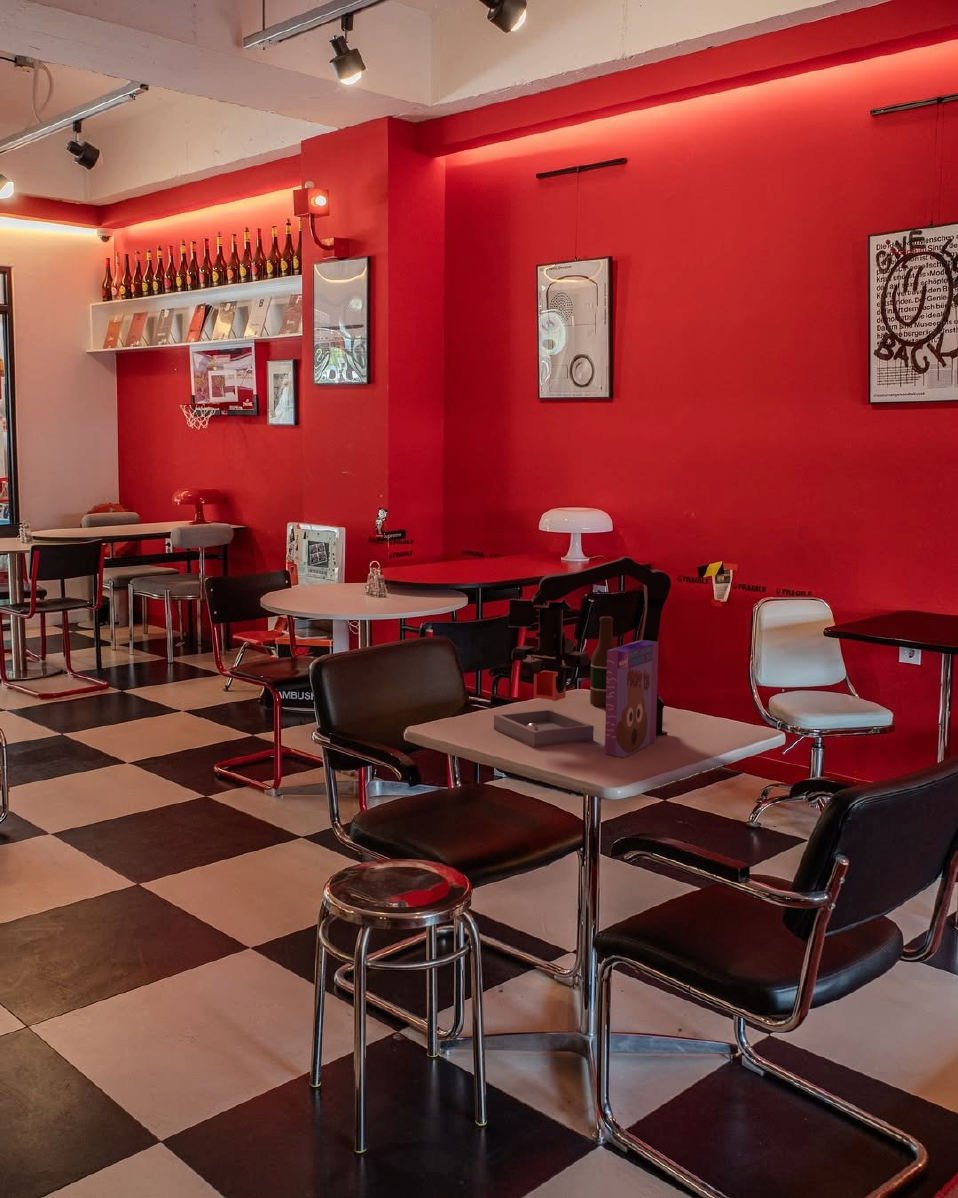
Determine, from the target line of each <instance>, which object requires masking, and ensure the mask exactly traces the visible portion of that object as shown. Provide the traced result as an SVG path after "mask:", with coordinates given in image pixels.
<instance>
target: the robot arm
mask: <svg viewBox="0 0 958 1198" xmlns="http://www.w3.org/2000/svg"><path fill="white" fill-rule="evenodd" d="M623 575H624V576H625V575H627V576H628V577H630V578H632V579H634V580H636V581H637V582H639V583H641V584H642V585H643V597H644V615H643V621H642V629H641V637H640V640H650V641H655V642H659V634H660V625H661V621H662V619H661V618H662V611H663V608H664V606H665V604H666V602H667V600H668V596H669V593H670V591H671V589H672V588H671V587H672V581H671V578H670V576H669V575H668V574H667V573H666V572H664V571H662V570H660V569H650V568H648V567H646V566H644V565H643V564H641V563H638V562H636V561H635V560H633V559H632V558H631V557H629V556H622V557H620V558H618V559H614V560H611V561H608V562H605V563H601V564H598V565H594V566H592V567H589V568H588V567H587V568H584V569H581V570H578V571H574V572H561V573H560V572H559V573H553V574H547V575H545V576H543V577H542V578H541V579H540V581H539V584H538V587H539V588H538V590H537V591H536V592H535V593H534V595H533V594H532V598H531V599H517V598H510V599H509V602H508V603H509V605H508V607H509V608H508V615H507V616H508V619H507V620H508V622H507V625H508V626H507V627H508V628H532V625H535V624H536V623H537V610H538V631H536V632H535V637H537V638H538V648H536V646H530V645H529V646H528V645H521V646H518V647H514V648H513V649H512V651H511V660H513V661H521V662H520V664H521V665H523V666H524V667H525V670H526V671H527V672H528V674H529V676H530V678H531V682H532V683H533V684H534V673H538V672H541V667H542V664H543V661H544V660H546V661H553V662H561V664H562V665H559V666H557V672H558V687H559V693H563V691H564V688H565V686H567V683H568V680H569V678H570V675H571V674H572V671H573V670H574V669H576V668H582V667H584V666H588V665H591V658H590V655H589V654H588V652H582V651H574V647H575V641H574V640H573V639H570V638H568V637H566V636H567V633H566V631H565V630H563V629H564V628H563V625H564V624H563V623H564V622H563V620H564V619H563V618H564V617H563V615H564V614H563V613H564V610H565V611H567V610H568V611H569V610H571V609H572V606H571V605H570V604H569V603H568V602H567V600H566V599H565V598H564V597H565V596H567V595H569V594H571V593H573V592H574V591H576V590H579V589H580V588H584V587H586V586H589V585H593V584H597V583H600V582H604V581H607V580H611V579H614V578H617V577H618V578H619V577H621V576H623ZM562 598H563V599H562ZM559 599H561V600H560V601H557V600H559ZM547 602H548V603H547ZM545 603H547V604H548V605H547V604H546V605H543V604H545ZM664 708H665V702H664V700H663V699H662V697H661V696H660V695H659V694H658V693H657V714H656V737H657V736H664V735H665V736H666V735H668V733H669V732H668V731H665V730H663V726H664V725H663V723H664V722H663V721H664V719H663V718H664V710H663V709H664Z"/></svg>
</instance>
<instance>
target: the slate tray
mask: <svg viewBox="0 0 958 1198" xmlns="http://www.w3.org/2000/svg"><path fill="white" fill-rule="evenodd" d="M530 723H534V724H536V725H537V726H538V731H536V730H533V729H531V728H529V727H526V726H527V725H528V724H530ZM594 728H595V727H594V725H593V724H590V723H588V722H585V721H582V720H580V719H577V718H575V717H573V716H570V715H567V714H565V713H562V712H560V711H557V710H554V709H553V708H547V709H537V710H536V709H535V710H527V711H517V712H515V711H514V712H507V713H499V714H498V713H496V714H493V729H494V730H496V731H498V732H501V733H502V734H505V736H506V735H507V736H509V737H511V738H513V739H515V740H517V741H519V742H522V743H524V744H526V745H529V746H530V747H532V748H541V747H549V746H556V745H565V744H572V743H580V742H583V743H584V742H590V741H594V733H595V732H594Z"/></svg>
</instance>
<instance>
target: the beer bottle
mask: <svg viewBox="0 0 958 1198" xmlns="http://www.w3.org/2000/svg"><path fill="white" fill-rule="evenodd" d="M598 621H599V634H598V642H597V646H596V648H595V649H594V651H593V653H592V654H591V658H590V678H589V679H590V689H589V691H590V692H589V699H590V701H589V702H590V705H591V704H593V705H594V707H596V706H598V707H597V708H603V709H604V708H605V709H606V679H607V650H610V649H613V648H615V646H614V636H613V634H614V633H613V629H614V628H613V622H614V617H612V616H608V615H604V616H603V615H602V616H600V617H599V620H598ZM593 705H592V706H593Z"/></svg>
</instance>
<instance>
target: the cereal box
mask: <svg viewBox="0 0 958 1198" xmlns="http://www.w3.org/2000/svg"><path fill="white" fill-rule="evenodd" d="M658 670H659V641H657V642H655V641H650V640H641V639H639V640H636V641H632V642H630V643H626V644H623V645H620V646H616V647H614V648H613V649H610V650H607V679H606V707H605V730H604V732H605V734H604V756H607V757H613V758H619V757H620V759H626V758H628V757H629V756H631V755H634V754H635V753H637V752H640V751H641V749H642V750H643V749H645V748H647V747H649V746H651V745H653V744H655V743H656V742H657V741H656V740H657V736H656V714H657V694H658V680H659V679H658V678H659V676H658V675H659V674H658V672H659V671H658ZM654 742H655V743H654ZM639 750H640V751H639ZM625 757H626V758H625Z"/></svg>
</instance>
